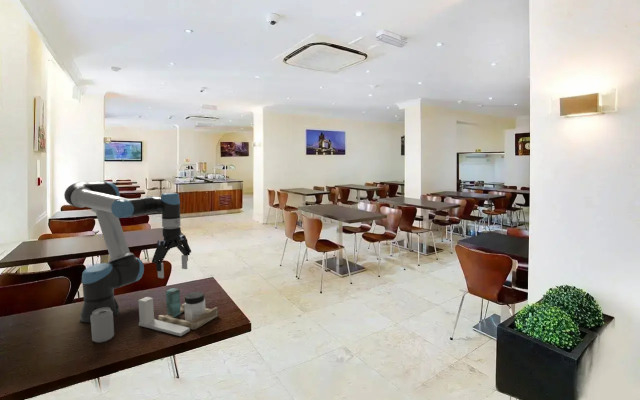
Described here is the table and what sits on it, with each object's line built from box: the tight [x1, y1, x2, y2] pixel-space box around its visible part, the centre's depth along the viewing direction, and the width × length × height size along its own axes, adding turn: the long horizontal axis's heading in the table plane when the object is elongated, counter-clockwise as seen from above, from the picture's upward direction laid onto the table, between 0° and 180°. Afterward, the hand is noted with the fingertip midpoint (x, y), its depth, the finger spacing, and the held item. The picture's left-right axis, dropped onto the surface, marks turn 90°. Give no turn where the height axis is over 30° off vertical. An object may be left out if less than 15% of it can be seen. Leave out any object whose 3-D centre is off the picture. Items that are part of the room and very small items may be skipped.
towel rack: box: [158, 287, 219, 331], centre depth 149 cm, size 22×14×12 cm
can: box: [90, 307, 115, 343], centre depth 132 cm, size 8×8×12 cm
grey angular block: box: [138, 296, 191, 337], centre depth 140 cm, size 24×5×11 cm, turn 67°
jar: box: [183, 291, 207, 322], centre depth 147 cm, size 9×8×12 cm
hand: (173, 273), depth 150 cm, fingers open, 13 cm apart
